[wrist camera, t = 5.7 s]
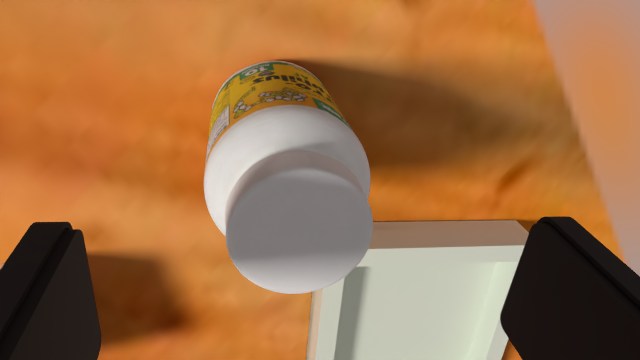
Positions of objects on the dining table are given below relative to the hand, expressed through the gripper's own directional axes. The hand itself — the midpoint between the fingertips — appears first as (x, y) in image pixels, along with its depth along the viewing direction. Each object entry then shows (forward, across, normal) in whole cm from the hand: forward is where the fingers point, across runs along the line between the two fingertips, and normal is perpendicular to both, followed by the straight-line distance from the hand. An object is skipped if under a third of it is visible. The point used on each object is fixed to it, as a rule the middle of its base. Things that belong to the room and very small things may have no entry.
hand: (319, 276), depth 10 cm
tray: (+12, -8, +12) cm, 19 cm away
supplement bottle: (+12, 0, +1) cm, 12 cm away
